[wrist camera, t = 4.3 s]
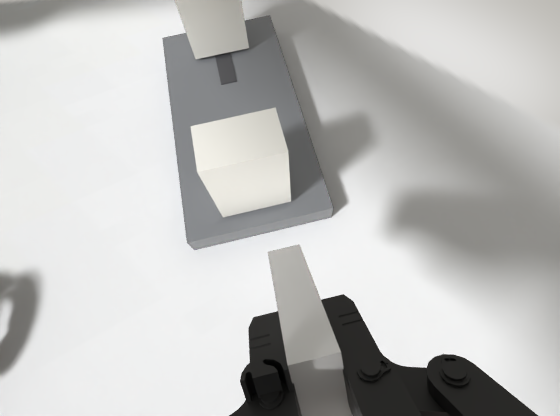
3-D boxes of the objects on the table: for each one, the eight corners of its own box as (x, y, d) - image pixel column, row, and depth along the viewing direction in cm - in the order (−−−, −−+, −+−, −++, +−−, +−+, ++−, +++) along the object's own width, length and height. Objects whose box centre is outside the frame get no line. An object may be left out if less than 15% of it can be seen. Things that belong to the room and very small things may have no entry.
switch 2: (291, 201, 26) (288, 151, 20) (223, 217, 26) (197, 172, 19) (281, 165, 28) (275, 107, 21) (216, 180, 27) (190, 126, 21)
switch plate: (331, 217, 28) (333, 207, 26) (194, 249, 28) (186, 242, 26) (265, 14, 39) (264, -3, 37) (166, 35, 38) (159, 19, 36)
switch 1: (249, 48, 33) (236, -27, 27) (195, 59, 33) (170, -13, 27) (242, 25, 35) (229, -51, 28) (191, 36, 35) (166, -38, 28)
